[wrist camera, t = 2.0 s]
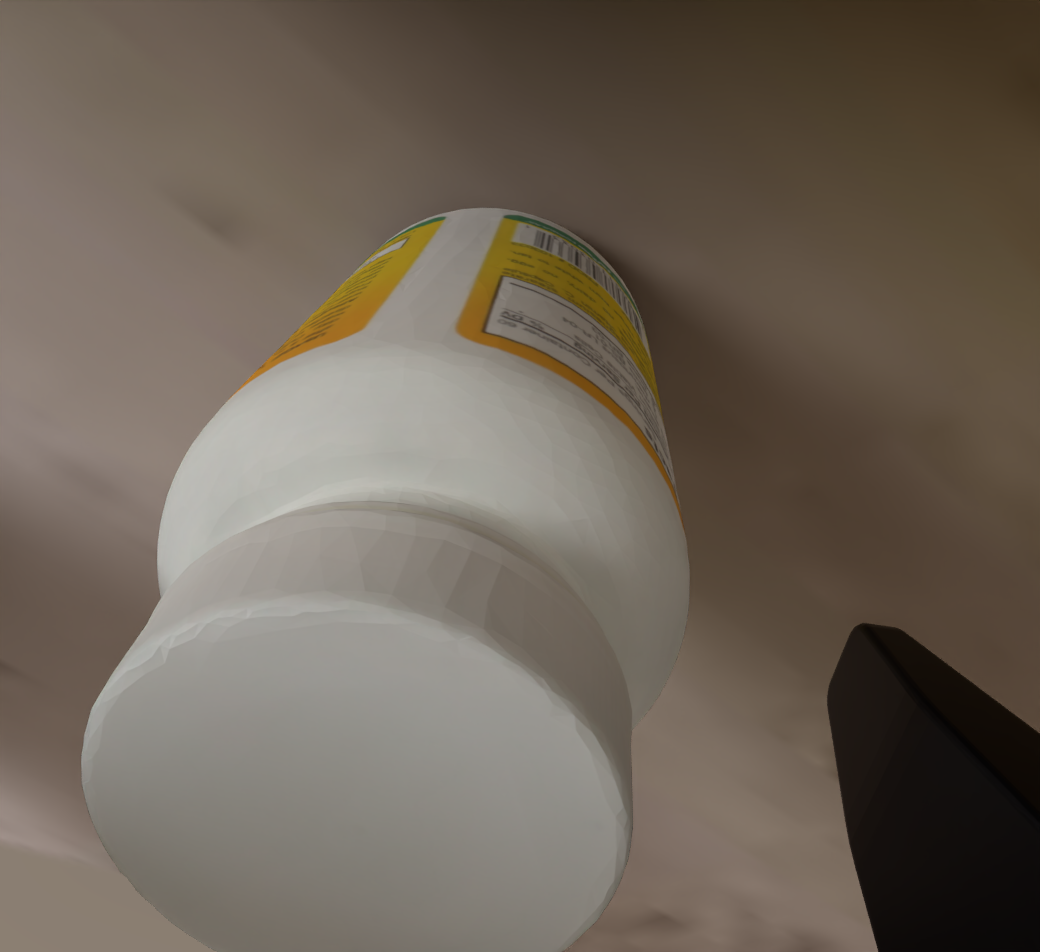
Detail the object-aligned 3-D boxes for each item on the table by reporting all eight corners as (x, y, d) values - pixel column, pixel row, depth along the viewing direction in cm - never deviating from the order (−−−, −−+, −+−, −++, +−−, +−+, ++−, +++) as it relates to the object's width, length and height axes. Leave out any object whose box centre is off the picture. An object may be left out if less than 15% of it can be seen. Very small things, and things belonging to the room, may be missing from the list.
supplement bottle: (657, 201, 13) (801, 518, 5) (638, 503, 16) (710, 1069, 7) (313, 201, 13) (-145, 498, 5) (350, 497, 16) (88, 1033, 7)
